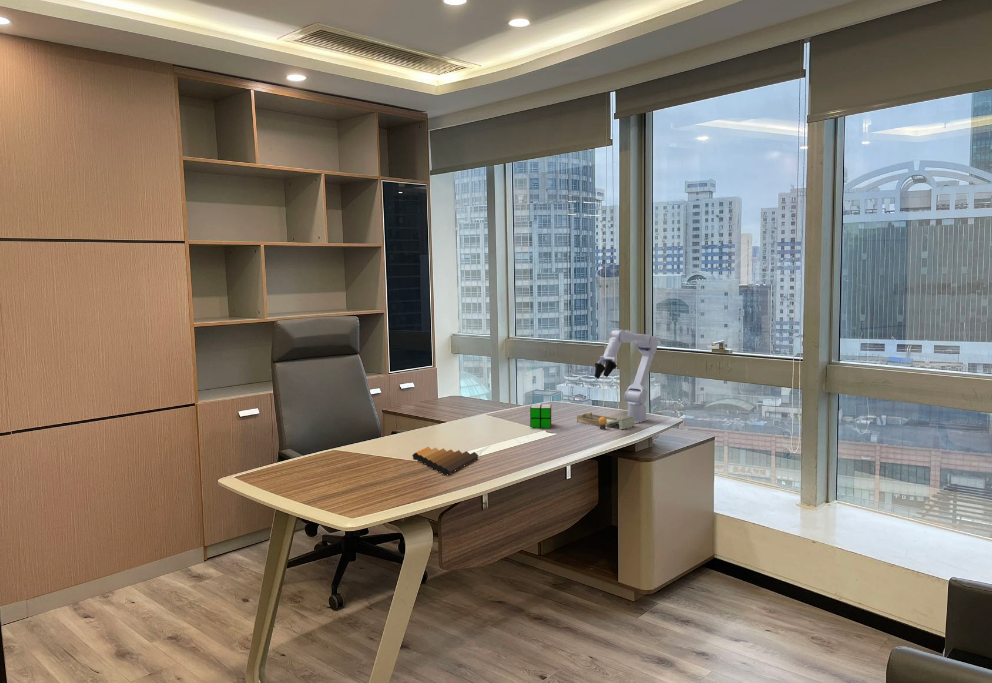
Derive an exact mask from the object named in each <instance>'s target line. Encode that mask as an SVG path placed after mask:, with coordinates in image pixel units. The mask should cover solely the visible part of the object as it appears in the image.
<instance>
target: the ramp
mask: <svg viewBox="0 0 992 683" xmlns="http://www.w3.org/2000/svg"><path fill="white" fill-rule="evenodd" d="M633 417H634V416H633V415H631V416H628V415H627V416H624V417H621V418H620V417H619V418H617V420H610V419H607V423H606V424H605V425H606V428H609V426H610V427H614V426H616V424H617V425H618V427H619V428H618V429H619V430H620V429H624V430H626V429H625V428H627V429H630V428H629V427H631V428H633V427H632V426H634V427H635V423H634V418H633Z"/></svg>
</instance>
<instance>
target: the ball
mask: <svg viewBox="0 0 992 683" xmlns="http://www.w3.org/2000/svg"><path fill="white" fill-rule="evenodd" d="M598 422H599V424H600V425H605V424H606V423H607V419H606V418H605V417H600V418H599V420H598Z"/></svg>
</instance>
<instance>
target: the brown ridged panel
mask: <svg viewBox="0 0 992 683" xmlns="http://www.w3.org/2000/svg"><path fill="white" fill-rule="evenodd" d="M478 458H479V454H478V453H477V452H475V451H474V452H471V453H469V452H468V451H467V450H466V451H464V452H462V451H461V450H460V449H458V450H456V451H453V449H449V450H446V449H445V448H441V449H438V448H437V447H434V448H432V449H431V447H429V446H427V447H425V448H422V449H420V450H418V451H416V452H414V453H413V454H412V459H413V460H417V462H419V461H422V462H421V464H422V463H426V464H425V465H426V466H427V467H428V466H431V467H430V468H431V469H432V468H434V469H433V470H436V469H437V470H436V472H437V471H441V472H440V473H441V474H442V473H443V474H450V473H452V472H453V473H455V472H456V471H455V470H457V469H459V468H461V467H462V468H464V467H465V466H464V465H466V464H468V463H469V464H471V463H472V461H473V462H474V460H475V461H476V459H477V460H478ZM470 462H471V463H470ZM469 464H468V465H469ZM463 466H464V467H463ZM466 466H467V465H466ZM462 468H461V469H462ZM459 470H460V469H459ZM454 471H455V472H454ZM457 471H458V470H457ZM453 473H452V474H453ZM450 475H451V474H450Z"/></svg>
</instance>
